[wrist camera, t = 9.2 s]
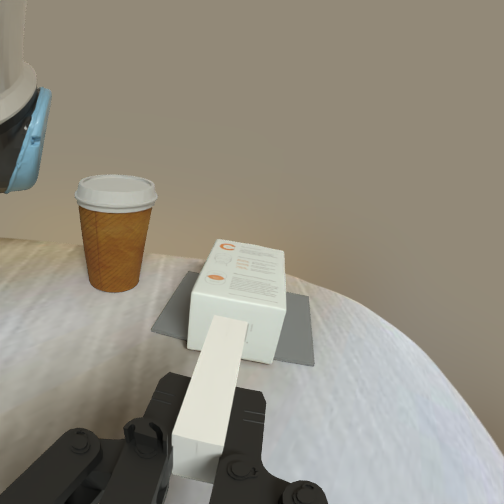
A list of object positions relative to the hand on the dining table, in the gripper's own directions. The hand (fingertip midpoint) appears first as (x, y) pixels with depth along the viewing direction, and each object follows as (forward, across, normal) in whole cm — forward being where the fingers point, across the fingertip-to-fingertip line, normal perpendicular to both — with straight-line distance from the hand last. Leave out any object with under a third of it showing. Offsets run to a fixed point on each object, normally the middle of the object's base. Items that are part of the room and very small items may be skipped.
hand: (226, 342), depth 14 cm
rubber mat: (+19, 0, -11) cm, 22 cm away
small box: (+11, 0, -7) cm, 13 cm away
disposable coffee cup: (+20, -16, -11) cm, 28 cm away
